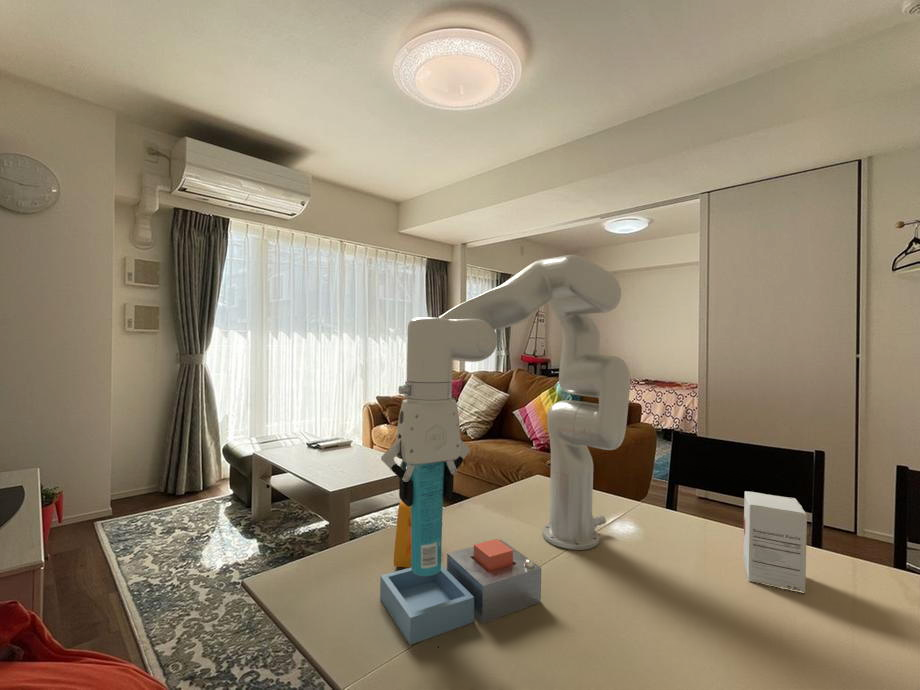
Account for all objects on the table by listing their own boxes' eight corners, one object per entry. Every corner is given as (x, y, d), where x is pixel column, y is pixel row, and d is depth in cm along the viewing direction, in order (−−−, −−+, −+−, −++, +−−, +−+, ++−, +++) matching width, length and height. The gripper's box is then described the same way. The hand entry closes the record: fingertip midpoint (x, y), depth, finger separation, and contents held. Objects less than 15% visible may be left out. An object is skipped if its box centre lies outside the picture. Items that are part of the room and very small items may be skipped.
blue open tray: (436, 582, 80) (437, 560, 80) (473, 622, 68) (474, 597, 68) (380, 598, 74) (380, 575, 74) (409, 645, 63) (410, 617, 63)
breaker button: (496, 576, 80) (496, 538, 80) (512, 590, 75) (513, 550, 75) (473, 583, 77) (473, 544, 77) (488, 598, 73) (489, 556, 73)
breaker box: (500, 569, 84) (501, 534, 84) (540, 602, 74) (541, 561, 74) (446, 585, 78) (447, 547, 78) (482, 623, 68) (483, 579, 68)
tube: (430, 556, 75) (433, 447, 75) (451, 566, 72) (454, 452, 72) (398, 573, 70) (401, 455, 70) (419, 584, 67) (423, 460, 67)
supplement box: (742, 561, 90) (743, 489, 90) (795, 572, 86) (797, 497, 86) (746, 582, 82) (748, 503, 82) (806, 595, 78) (808, 513, 78)
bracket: (430, 573, 83) (431, 511, 83) (393, 570, 84) (394, 509, 84) (438, 547, 94) (439, 492, 94) (405, 544, 94) (406, 490, 94)
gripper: (387, 396, 64) (384, 517, 64) (485, 392, 72) (482, 498, 72) (371, 391, 70) (368, 501, 70) (462, 388, 79) (460, 485, 79)
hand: (426, 498), depth 71 cm, fingers closed on tube, 6 cm apart
